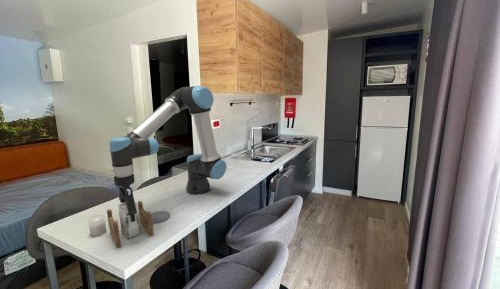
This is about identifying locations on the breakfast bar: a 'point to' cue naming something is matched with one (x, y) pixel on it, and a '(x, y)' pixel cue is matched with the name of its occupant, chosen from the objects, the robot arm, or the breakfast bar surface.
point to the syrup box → (125, 222)
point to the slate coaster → (160, 216)
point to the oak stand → (144, 221)
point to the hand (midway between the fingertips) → (129, 221)
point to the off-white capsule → (97, 225)
